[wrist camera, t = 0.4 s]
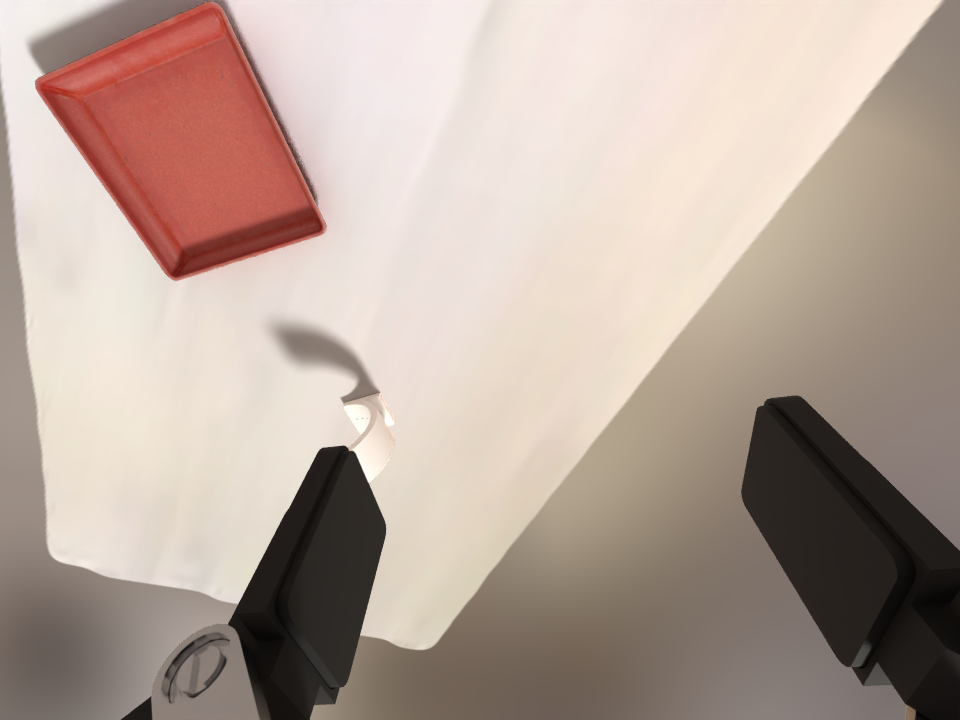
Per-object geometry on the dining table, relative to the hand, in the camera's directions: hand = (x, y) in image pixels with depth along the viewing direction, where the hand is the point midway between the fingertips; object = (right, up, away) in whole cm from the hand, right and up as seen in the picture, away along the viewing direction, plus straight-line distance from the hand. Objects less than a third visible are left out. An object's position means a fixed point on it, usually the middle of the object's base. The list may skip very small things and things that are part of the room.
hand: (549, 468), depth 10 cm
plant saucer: (-27, +22, +30) cm, 46 cm away
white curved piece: (-15, -4, +45) cm, 47 cm away
